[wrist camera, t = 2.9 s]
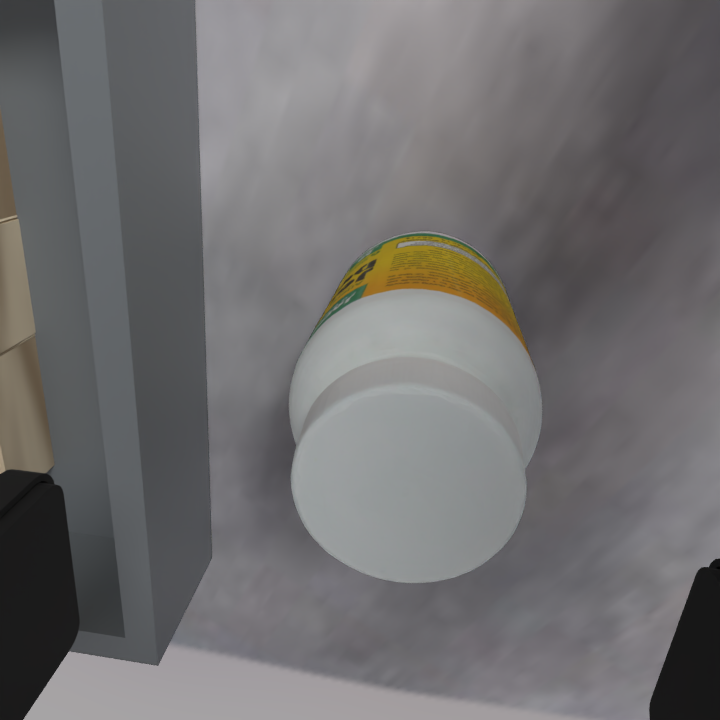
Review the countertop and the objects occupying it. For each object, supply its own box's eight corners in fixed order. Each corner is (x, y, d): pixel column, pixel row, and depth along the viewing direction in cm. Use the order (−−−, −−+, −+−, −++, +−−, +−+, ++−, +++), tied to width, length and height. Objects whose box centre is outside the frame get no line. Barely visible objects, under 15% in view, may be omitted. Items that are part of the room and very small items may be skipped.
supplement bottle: (468, 412, 20) (490, 654, 11) (315, 358, 20) (218, 560, 11) (539, 262, 18) (634, 419, 9) (367, 200, 18) (296, 299, 9)
